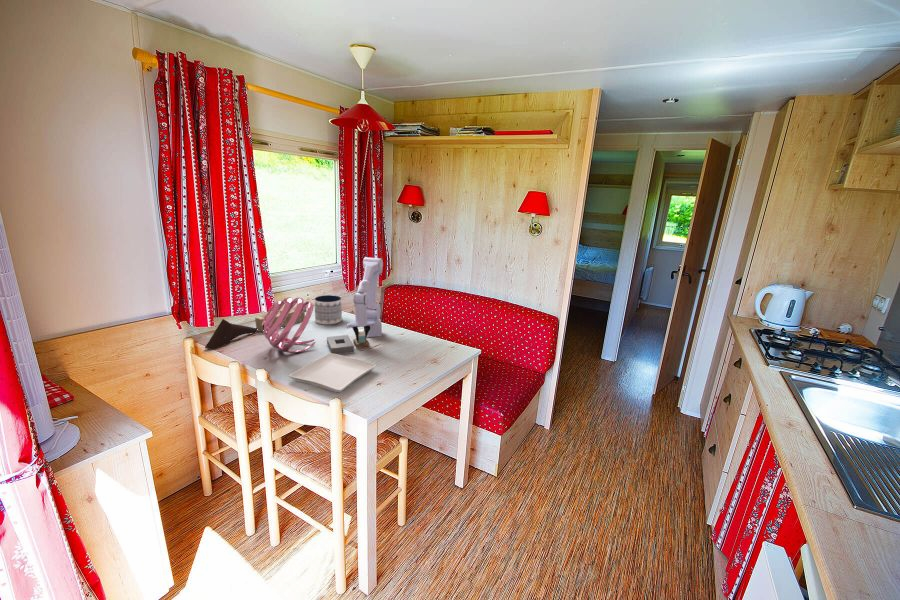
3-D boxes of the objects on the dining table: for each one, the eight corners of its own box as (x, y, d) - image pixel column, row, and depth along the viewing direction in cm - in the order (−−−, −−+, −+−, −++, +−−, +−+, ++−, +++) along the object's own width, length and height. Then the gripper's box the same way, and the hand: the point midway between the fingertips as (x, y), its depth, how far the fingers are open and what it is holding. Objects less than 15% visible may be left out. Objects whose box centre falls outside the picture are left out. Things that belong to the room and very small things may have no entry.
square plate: (330, 359, 186) (329, 351, 185) (377, 371, 176) (378, 363, 175) (287, 382, 162) (286, 374, 161) (340, 398, 152) (340, 389, 151)
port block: (347, 340, 208) (347, 334, 207) (353, 352, 194) (353, 345, 193) (326, 343, 203) (326, 336, 202) (331, 354, 189) (331, 348, 188)
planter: (347, 319, 242) (346, 297, 238) (329, 326, 228) (329, 303, 224) (327, 315, 248) (326, 293, 244) (309, 321, 234) (308, 299, 230)
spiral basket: (334, 304, 206) (287, 277, 193) (332, 333, 182) (278, 306, 169) (305, 339, 213) (258, 316, 200) (300, 372, 189) (245, 349, 176)
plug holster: (365, 341, 208) (365, 337, 207) (369, 347, 201) (369, 342, 201) (353, 343, 205) (353, 338, 205) (356, 348, 199) (356, 344, 198)
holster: (242, 355, 209) (202, 347, 187) (253, 327, 213) (215, 315, 190) (249, 357, 207) (209, 349, 185) (260, 329, 211) (222, 317, 189)
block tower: (264, 334, 213) (307, 320, 237) (263, 320, 210) (306, 307, 235) (256, 331, 217) (299, 317, 241) (254, 317, 214) (298, 304, 238)
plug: (363, 343, 206) (363, 329, 204) (365, 346, 202) (365, 332, 200) (357, 344, 205) (356, 330, 202) (358, 347, 201) (358, 332, 198)
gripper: (348, 318, 192) (348, 343, 196) (376, 316, 198) (376, 340, 202) (345, 314, 198) (346, 338, 202) (373, 312, 204) (373, 336, 208)
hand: (361, 339), depth 202 cm, fingers closed on plug, 3 cm apart
